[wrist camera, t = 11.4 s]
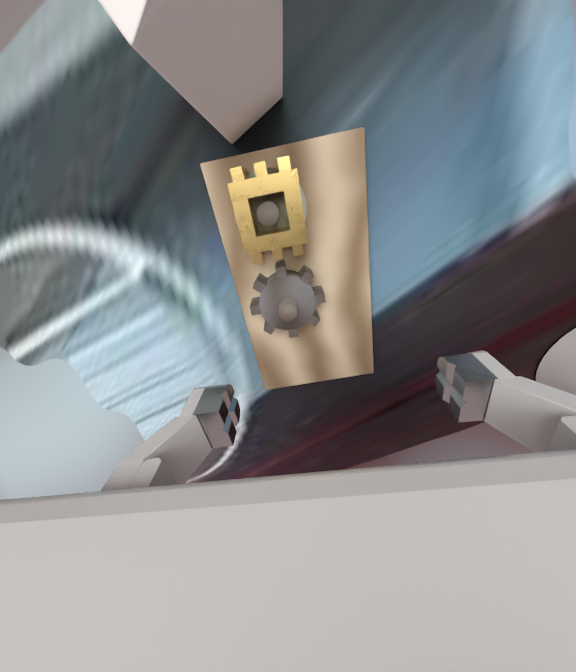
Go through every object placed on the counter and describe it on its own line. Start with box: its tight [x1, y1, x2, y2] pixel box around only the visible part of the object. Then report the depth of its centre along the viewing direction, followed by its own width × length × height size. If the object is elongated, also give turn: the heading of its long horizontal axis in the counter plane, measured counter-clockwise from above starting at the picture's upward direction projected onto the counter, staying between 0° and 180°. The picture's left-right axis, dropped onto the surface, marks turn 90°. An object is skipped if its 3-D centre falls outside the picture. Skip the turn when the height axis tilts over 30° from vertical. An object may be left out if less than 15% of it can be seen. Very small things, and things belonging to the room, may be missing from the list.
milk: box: [98, 0, 283, 144], centre depth 13 cm, size 6×6×22 cm
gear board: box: [200, 127, 374, 390], centre depth 28 cm, size 15×27×6 cm, turn 10°
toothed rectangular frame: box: [227, 156, 308, 264], centre depth 25 cm, size 6×8×3 cm
